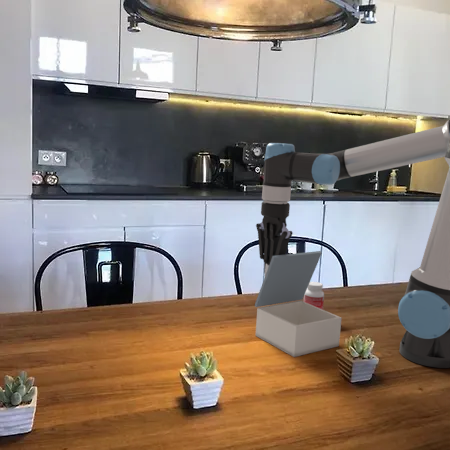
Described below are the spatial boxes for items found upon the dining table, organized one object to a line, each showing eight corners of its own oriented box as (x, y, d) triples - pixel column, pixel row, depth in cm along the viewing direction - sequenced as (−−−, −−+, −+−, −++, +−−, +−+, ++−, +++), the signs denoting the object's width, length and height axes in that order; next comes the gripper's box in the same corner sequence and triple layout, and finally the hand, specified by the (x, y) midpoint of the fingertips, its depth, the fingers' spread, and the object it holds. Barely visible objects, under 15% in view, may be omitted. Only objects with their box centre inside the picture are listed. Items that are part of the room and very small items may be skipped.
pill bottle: (324, 321, 162) (328, 286, 160) (305, 321, 161) (308, 286, 159) (318, 314, 168) (321, 281, 166) (299, 314, 167) (302, 280, 165)
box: (338, 346, 143) (341, 317, 142) (293, 357, 134) (296, 326, 133) (298, 326, 156) (301, 300, 155) (255, 335, 147) (257, 307, 146)
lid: (321, 252, 147) (317, 248, 149) (274, 257, 138) (270, 253, 139) (302, 299, 155) (298, 295, 156) (256, 307, 145) (252, 302, 147)
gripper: (302, 204, 139) (295, 291, 143) (271, 197, 149) (265, 279, 153) (280, 205, 135) (273, 295, 139) (250, 198, 145) (244, 281, 149)
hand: (269, 286), depth 146 cm, fingers closed
